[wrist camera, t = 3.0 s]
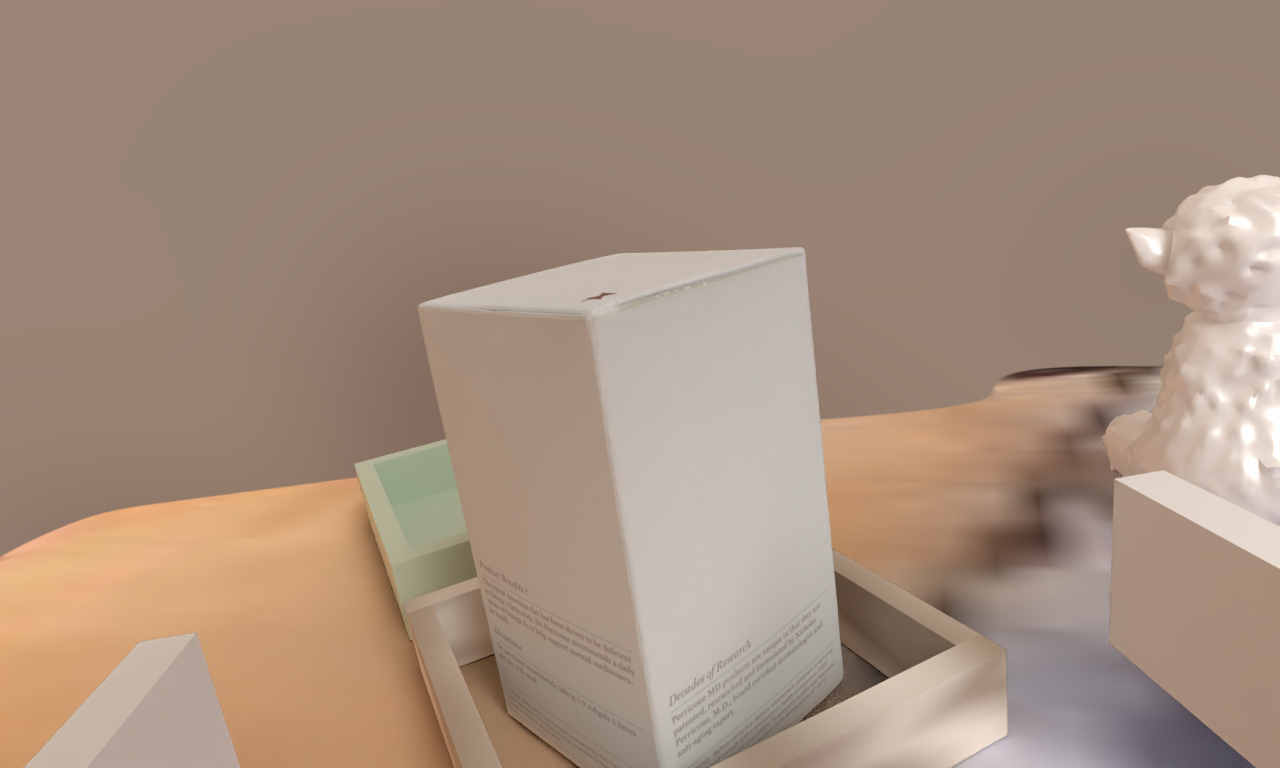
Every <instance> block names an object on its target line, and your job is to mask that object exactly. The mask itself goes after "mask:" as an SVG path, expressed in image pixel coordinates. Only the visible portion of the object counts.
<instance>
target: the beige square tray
mask: <svg viewBox="0 0 1280 768" xmlns="http://www.w3.org/2000/svg"><path fill="white" fill-rule="evenodd" d="M832 554H833V563H834V575H835V585H836V597H837V606H838V620H839V632H840V641H841V643H842V644H844V645H845V646H846V647H848V648H849V649H851V650H852V651H853V652H855V653H856V654H857V655H859V656H860V657H861V658H863V659H864V660H866V661H867V662H868V663H870V664H871V665H872V666H874V667H875V668H876V669H878V670H879V671H880V672H882V673H883V674H885V675H886V676H887V677H889V679H887V680H885V681H883V682H881V683H879V684H877V685H875V686H873V687H871V688H869V689H867V690H865V691H863V692H861V693H859V694H857V695H855V696H853V697H851V698H849V699H847V700H845V701H843V702H841V703H839V704H837V705H835V706H833V707H831V708H829V709H827V710H825V711H823V712H821V713H819V714H817V715H815V716H813V717H811V718H809V719H807V720H805V721H803V722H800V723H798V724H796V725H794V726H792V727H790V728H788V729H786V730H784V731H782V732H780V733H778V734H776V735H774V736H772V737H770V738H768V739H766V740H764V741H762V742H760V743H758V744H756V745H754V746H752V747H750V748H748V749H746V750H744V751H742V752H740V753H738V754H736V755H734V756H732V757H730V758H728V759H726V760H724V761H722V762H720V763H718V764H716V765H714V766H712V767H709V768H950V767H952V766H954V765H956V764H957V763H959V762H961V761H963V760H964V759H966V758H968V757H970V756H971V755H973V754H975V753H977V752H978V751H980V750H982V749H984V748H985V747H987V746H989V745H991V744H992V743H994V742H996V741H998V740H999V739H1001V738H1003V737H1005V736H1006V735H1008V734H1007V665H1006V649H1005V648H1003V647H1001V646H999V645H998V644H996V643H994V642H993V641H991V640H989V639H987V638H986V637H984V636H982V635H981V634H979V633H977V632H975V631H974V630H972V629H970V628H969V627H967V626H965V625H963V624H962V623H960V622H958V621H956V620H955V619H953V618H951V617H950V616H948V615H946V614H944V613H943V612H941V611H939V610H938V609H936V608H934V607H932V606H931V605H929V604H927V603H925V602H924V601H922V600H920V599H919V598H917V597H915V596H913V595H912V594H910V593H908V592H907V591H905V590H903V589H901V588H900V587H898V586H896V585H894V584H893V583H891V582H889V581H888V580H886V579H884V578H882V577H881V576H879V575H877V574H876V573H874V572H872V571H870V570H869V569H867V568H865V567H863V566H862V565H860V564H858V563H857V562H855V561H853V560H851V559H850V558H848V557H846V556H845V555H843V554H841V553H839V552H838V551H836V550H834V549H832ZM403 605H404V609H405V613H406V616H407V620H408V624H409V628H410V632H411V636H412V640H413V644H414V648H415V652H416V656H417V660H418V664H419V668H420V671H421V674H422V677H423V680H424V683H425V685H426V688H427V691H428V694H429V697H430V700H431V703H432V706H433V709H434V712H435V715H436V717H437V720H438V723H439V726H440V729H441V732H442V735H443V738H444V741H445V744H446V747H447V749H448V752H449V755H450V758H451V761H452V764H453V767H454V768H503V767H502V765H501V763H500V760H499V758H498V756H497V753H496V751H495V749H494V746H493V744H492V742H491V739H490V737H489V735H488V733H487V730H486V728H485V726H484V723H483V721H482V719H481V716H480V714H479V712H478V709H477V707H476V705H475V702H474V700H473V698H472V696H471V693H470V691H469V689H468V686H467V684H466V682H465V679H464V677H463V675H462V672H461V670H460V668H459V667H460V666H463V665H466V664H468V663H471V662H473V661H476V660H479V659H481V658H484V657H486V656H489V655H492V654H494V650H493V645H492V640H491V635H490V630H489V625H488V620H487V616H486V612H485V608H484V603H483V599H482V594H481V590H480V585H479V581H478V577H475V578H472V579H469V580H467V581H464V582H461V583H458V584H455V585H452V586H449V587H446V588H443V589H440V590H437V591H434V592H431V593H428V594H426V595H423V596H420V597H417V598H414V599H411V600H408V601H405V602H403Z"/></svg>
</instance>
